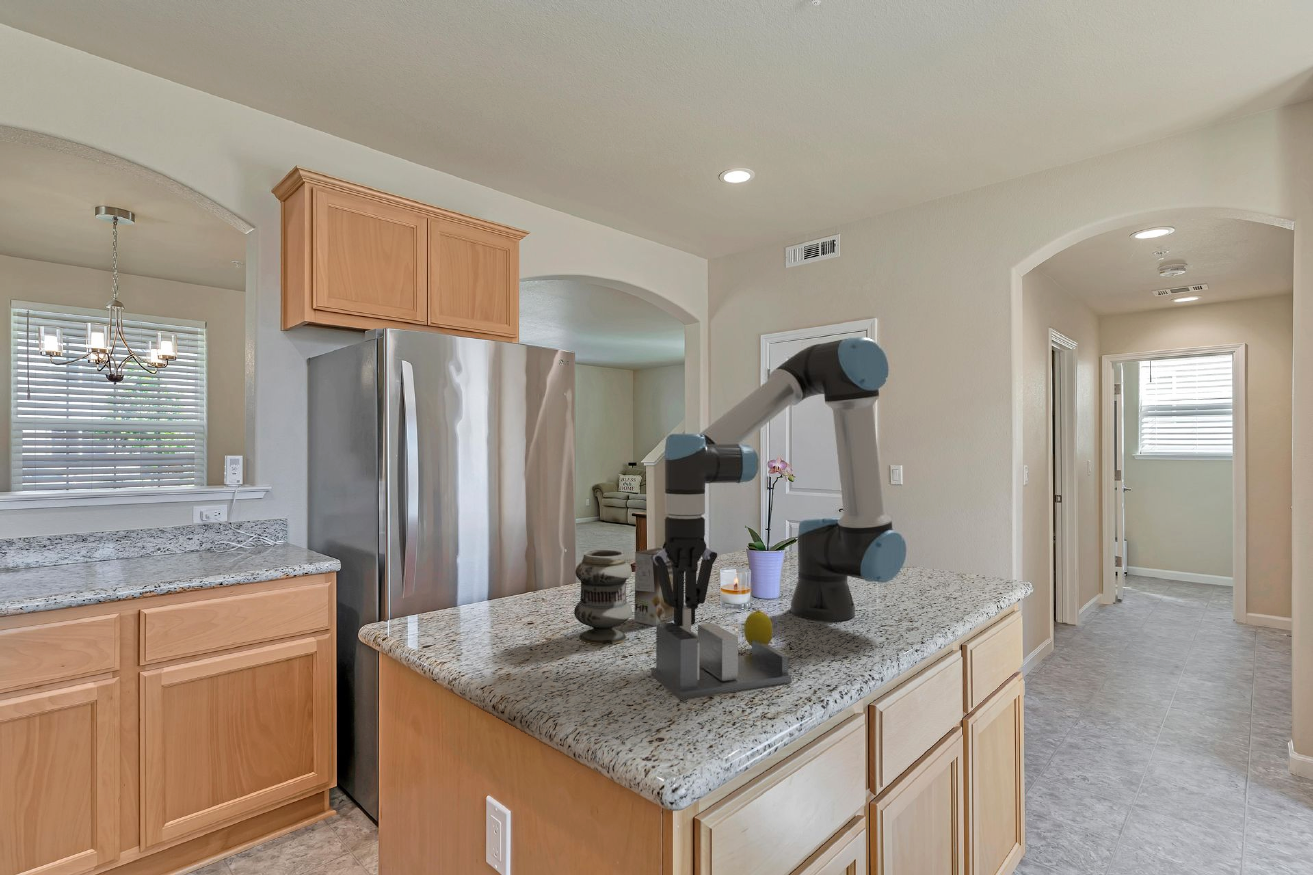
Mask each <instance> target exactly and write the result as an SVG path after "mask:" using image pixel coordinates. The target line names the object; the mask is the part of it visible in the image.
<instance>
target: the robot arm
mask: <svg viewBox="0 0 1313 875" xmlns="http://www.w3.org/2000/svg"><path fill="white" fill-rule="evenodd" d="M889 371H890V370H889V362H888V359H887V355H886V353H885V351H884V350H883V348H882V347H881V345H879V344H878V343H877V342H876V341H875V340H873V339H871V338H869V337H865V336H864V337H863V336H858V337H848V338H843V339H838V340H834V341H829V342H828V341H827V342H823V343H817V344H813V345H809V346H807V347H805V348H804V349H802V350H800V351H798V352H797V353H795V354H794V355H793V356H791V357H790V358H788V359H787V360H786V361H784V362H783V363H782V364H780V365H779V366H778V367H777V368H775V369H774V370H773V371H771V372H770V374H769V376H768V380H767V381H766V382H764V383H763V384H761V385H760V386H759V387H758V388H756V389H755V390H754V391H753V392H751V393H750V394H749V395H748V396H746V397H744V398H743V399H742V400H741V401H740V402H738V403H737V404H736V405H734V406H733V407H732V408H731V409H730V410H728V411H727V412H726V413H724V414H723V415H722V416H721V417H719V418H718V419H717V420H716V421H713V423H711V424H709V426H708V427H706V428H705V429H704V430H702V431H701V432H699V433H671V434H669V435H667V437H666V438H665V445H664V456H663V458H664V514H665V515H668V516H666V517H665V518H664V542H663V545H662V548H663V550H661V551H660V552H659V553H658V554H653V555H652V556H651V559H652V561H653V562H654V564H655V565H656V568H657V573H658V577H659V582H660V586H661V591H662V595H663V600H664V603H665V604H667V605H669V606H670V607H673V608H674V620H673V623H674V624H676V625H677V626H679V627H681V628H682V629H684V630H685V631H687V632H689V633H690V634H691V632H692V625H695V623H696V610H697V609H698V608H699V605H702V604H704V603H705V602H706V598H707V593H708V589H709V584H710V578H711V574H712V569H713V564H714V563H715V561H716V560H717V558H718V553H717V552H716V551H713V550H711V549H709V548H708V547H707V543H706V541H705V536H706V519H705V517H703V516H704V515H705V514H706V484H731V483H732V484H733V483H735V484H741V483H748V482H751V481H753V480H754V479H755V477H756V476H757V474H758V472H759V468H760V466H759V465H760V463H759V462H760V461H759V455H758V453H757V451H756V449H755V448H754V447H753V446H752V445H748V444H743V443H745V442H746V441H747V440H749V438H751V437H752V436H753V435H755V434H756V433H757V432H758V431H759V430H761V428H763V427H764V426H765V425H767V424H768V423H769V422H770V421H771V420H773V419H774V418H775V417H776V416H778V415H779V414H780V413H781V412H782V411H784V410H785V409H786V408H787V407H789V406H796V405H799V404H800V403H801V402H802V401H803V400H806V399H807V398H810V397H812V396H817V395H824V403H825V404H826V405H827V406H828V407H829V408H831V410H832V415H833V423H834V424H833V425H834V433H835V443H836V452H837V453H836V454H837V462H838V471H839V479H840V480H839V481H840V490H841V491H840V492H841V500H842V510H843V511H842V512H843V514H842V516H841V517H824V518H812V519H811V518H810V519H803V520H802V521H800V522H799V524H798V533H797V566H798V567H797V572H798V574H797V582H796V585H795V588H794V592H793V596H792V598H791V601H790V612H791V613H792V614H794V615H795V616H797V617H800V618H805V619H808V620H809V619H810V620H814V621H816V620H817V621H826V622H827V621H829V622H830V621H831V622H833V621H836V622H837V621H838V622H839V621H844V620H850V619H852V618H854V617H855V616H856V605H855V603H854V600H853V597H852V593H851V590H850V587H849V583H848V582H849V581H848V577H850V578H855V579H859V580H863V581H865V582H869V583H870V582H871V583H873V582H874V583H880V584H881V583H887V582H889V581H892V580H894V578H896V577H897V576H898V575H899V573H900V572H901V569H902V568H904V567H903V566H904V564H905V561H906V559H907V558H906V557H907V544H906V541H905V540H906V539H905V538H904V537H902V536H903V535H902V534H901V533H900V532H898V531H896V530H894V528H893V521H892V517H890V516H889V515H888V514H886V513H885V511H884V503H883V492H882V482H881V472H880V471H881V470H880V462H879V453H878V444H877V434H876V433H877V432H876V424H875V414H874V405H875V403H876V402H877V401H878V399H879V398H880V390H879V389H880V388H882V387H883V386H884V385H885V384H886V382H887V379H888V376H889ZM666 556H667V557H668V558H669V560H670V561H671V563H672V570H673V591H672V586H671V582H670V577H669V573H668V569H667V566H666V564H665V563H666V562H667V559H666ZM701 558H702V559H701ZM700 559H701V563H700V565H699V561H700ZM698 565H699V566H700V567H699V566H698ZM698 568H699V570H698ZM697 572H698V576H697Z"/></svg>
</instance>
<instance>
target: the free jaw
mask: <svg viewBox="0 0 1313 875" xmlns="http://www.w3.org/2000/svg"><path fill="white" fill-rule="evenodd" d="M691 634H692V635H694V636H695V637H697V638H698V642H699V665H700V666H701V667H702V668H704V669H705V670H707V671H708V672H710V673H711V674H712V675H714V676H715V677H717V678H718V679H720V680H721V681H727V680H733V679H738V657H739V636H737V635H736V634H734V633H733V632H730V631H729V630H726V629H724V628H723V627H721V626H719V625H717V624H716V623H712V622H711V623H702V624H698V625H697V634H696V633H695V632H692V631H691Z"/></svg>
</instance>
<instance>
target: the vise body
mask: <svg viewBox="0 0 1313 875" xmlns="http://www.w3.org/2000/svg"><path fill="white" fill-rule="evenodd" d="M655 628H656V631H655V632H656V639H655V640H656V643H655V645H656V646H655V650H656V652H655V657H656V658H655V661H656V662H655V663H656V664H655V667H654V668H651V670H650V673H651V674H650V675H651V677H653V678H654V679H655V680H656V681H657V682H658V683H660V685H662V686H663V687H664V688H665V689H666V690H668V691H669V692H670V693H671V694H672V695H673V696H675V697H676V699H678V700H679V701H684V700H685V701H686V700H691V699H696V698H702V697H710V696H717V695H722V694H729V693H735V692H740V691H741V692H742V691H746V690H753V689H754V690H755V689H759V688H764V687H772V686H778V685H784V684H790V683H792V674H790V673H789V655H787V654H786V653H784V652H781V651H780V650H777V649H776V648H774V647H772V646H770V645H769V644H768V645H766V644H764V643H762V642H760V641H759V640H752V646H751V654H747V655H741V656H739V655H738V679H733V680H727V681H721V680H720V679H718V678H717V677H715V676H714V675H712V674H711V673H710V672H708V671H707V670H705V669H704V668H702V667H701V666H700V665H699V642H698V638H697V637H695V636H694V635H692V634H690V633H689V632H687V631H685V630H684V629H682V628H681V627H679V626H677V625H676V624H674V622H671V621H670V622H665V623H661V624H657V626H656V627H655Z"/></svg>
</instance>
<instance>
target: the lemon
mask: <svg viewBox="0 0 1313 875" xmlns="http://www.w3.org/2000/svg"><path fill="white" fill-rule="evenodd" d="M773 633H774V632H773V624H772V621H771V618H770V616H768V614H766V613H765V612H763V611H762V610H760V609H756V610H755V611H754V612H753V611H752V613H750V614H749V615H748V616H747V617H746V619H745V623H744V637H745V639H746V640H745V641H746V642H747V643H748V645H749V646H751V647H752V640H759V641H760V642H762V643H764V644H766V645H768V646H769V644H770V643H771V641H772V639H773Z"/></svg>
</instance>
